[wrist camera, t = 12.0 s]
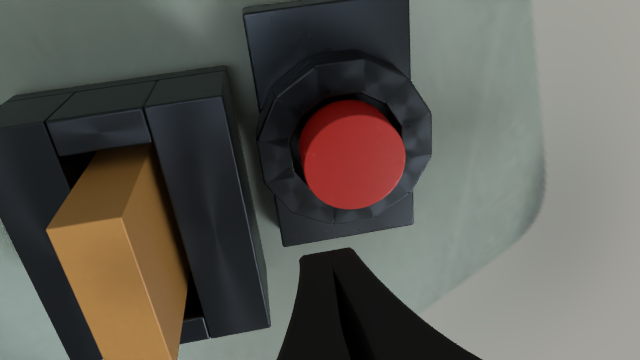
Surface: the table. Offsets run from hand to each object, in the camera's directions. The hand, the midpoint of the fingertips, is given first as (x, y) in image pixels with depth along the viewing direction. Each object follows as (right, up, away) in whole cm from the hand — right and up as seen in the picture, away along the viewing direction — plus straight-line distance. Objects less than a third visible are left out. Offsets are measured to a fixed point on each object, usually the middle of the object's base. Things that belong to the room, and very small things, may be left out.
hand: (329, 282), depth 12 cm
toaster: (-7, +2, +8) cm, 11 cm away
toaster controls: (0, +5, +8) cm, 10 cm away
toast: (-7, +2, +8) cm, 11 cm away
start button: (+1, +4, +6) cm, 7 cm away
